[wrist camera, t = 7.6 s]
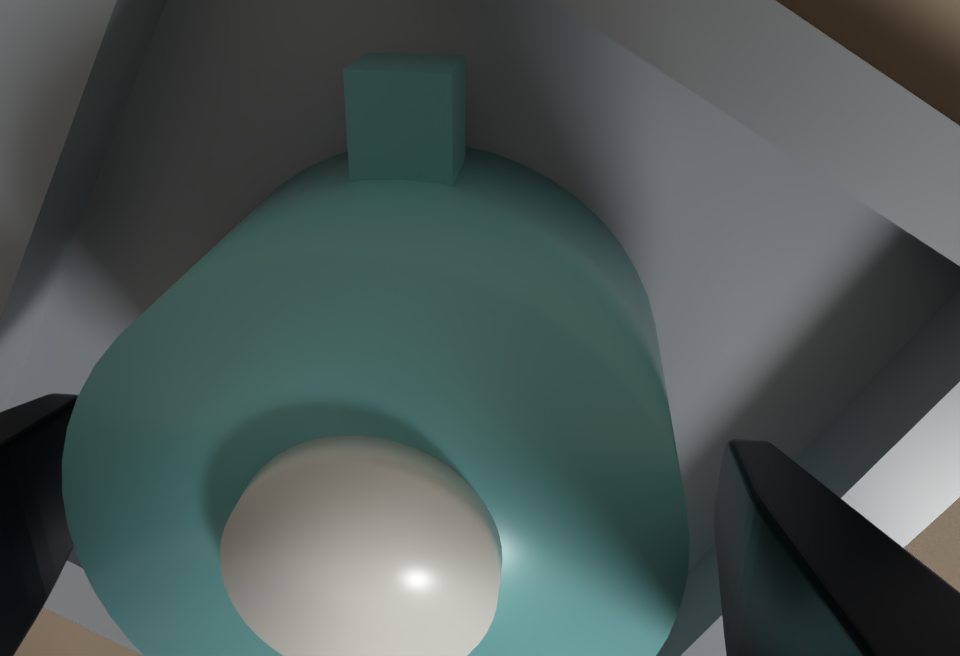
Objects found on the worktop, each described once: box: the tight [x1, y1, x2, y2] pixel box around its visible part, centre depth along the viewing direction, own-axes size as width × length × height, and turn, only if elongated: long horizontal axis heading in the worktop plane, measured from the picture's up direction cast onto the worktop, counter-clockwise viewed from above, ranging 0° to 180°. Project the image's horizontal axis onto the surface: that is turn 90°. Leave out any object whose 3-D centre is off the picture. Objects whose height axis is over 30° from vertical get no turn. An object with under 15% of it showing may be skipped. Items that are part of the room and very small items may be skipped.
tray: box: [0, 0, 960, 656], centre depth 11 cm, size 11×11×2 cm
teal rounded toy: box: [62, 53, 690, 656], centre depth 9 cm, size 7×6×4 cm
